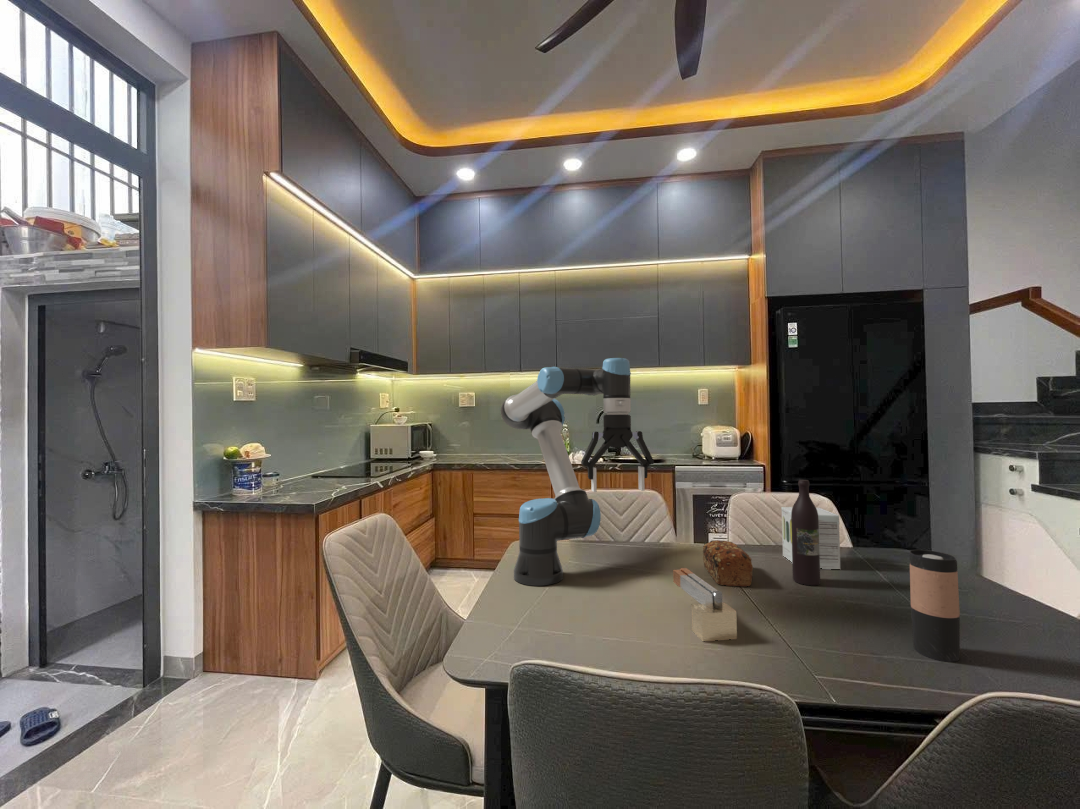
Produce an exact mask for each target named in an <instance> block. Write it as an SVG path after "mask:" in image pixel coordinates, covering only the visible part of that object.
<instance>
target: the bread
mask: <svg viewBox="0 0 1080 809" xmlns="http://www.w3.org/2000/svg"><path fill="white" fill-rule="evenodd" d="M702 560H703V566H704V568H705V569H706V571H707V570H708V571H707V573H708V572H709V573H710V574H709V573H708V574H709V575H710V577H711V576H712V577H711V578H712V580H715V581H714V582H715V583H716V584H717V585H720V586H724V585H726V586H728V587H745V588H746V587H747V586H748V587H750V586H751V584H752V579H753V568H754V567H753V564H752V558H751V557H750V555H749V554H748V553H747V552H745V550H743V549H742V548H741V547H739V545H737V544H736V543H734V542H733V541H727V540H719V539H717V540H710V541H709V542H707V543H705V544H704V545H703V546H702Z"/></svg>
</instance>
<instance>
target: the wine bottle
mask: <svg viewBox="0 0 1080 809" xmlns="http://www.w3.org/2000/svg"><path fill="white" fill-rule="evenodd" d="M797 483H798V485H797V486H798V490H799V491H798V495H797V496H798V497H797V498H796V500H795V502H794V503H793V506H792V507H793V508H792V512H791V528H792V563H791V564H792V580H793V581H794V582H795V583H798V584H799V583H800V585H803V584H804V586H809V585H811V587H812V586H819V585H820V584H821V569H820V551H819V519H818V512H817V509H816V508H817V507H816V505H815V503H814V502H813V500H812V499H811V497H810V491H809V490H810V481H809V480H808V479H799V480H798V481H797Z"/></svg>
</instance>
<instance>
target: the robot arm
mask: <svg viewBox="0 0 1080 809" xmlns="http://www.w3.org/2000/svg"><path fill="white" fill-rule="evenodd" d="M630 363H631V362H630V360H629V359H627V358H623V357H612V358H610V357H609V358H605V359H604V360H603V362H602V368H597V369H596V368H595V369H594V368H592V369H591V368H575V367H574V368H573V367H571V368H570V367H559V366H558V367H557V366H551V367H550V366H546V367H543V368H541V369H540V371H539V373H538V375H537V379H536V381H534V382H532V384H531V385H529V386H527V387H526V388H525V389H523V390H522V391H520V392H519V393H517V394H513V395H510V396H508V397H507V398H505V400H504V401H503V402H502V404H501V406H500V415H501V418H502V420H503V422H504V423H505V424H506V425H508V426H509V427H511V428H512V429H516V430H530V433H531V435H532V437H533V438H534V439H536V440H537V441H538V445H539V448H540V451H541V454H542V456H543V457H542V458H543V461H544V464H545V467H546V470H547V473H548V476H549V479H550V483H551V486H552V488H553V489H552V490H553V493H554V496H555V497H554V498H551V497H547V498H546V497H545V498H535V499H531V500H528V501H525V502H523V503H522V504H521V506H520V507H519V514H518V515H519V516H518V527H519V528H518V530H519V533H518V538H519V539H518V540H519V541H518V543H519V544H518V546H519V548H518V549H519V550H518V552H519V553H518V556H517V559H516V561H515V562H516V563H515V566H514V569H513V580H514V581H515V582H517V583H520V584H522V585H525V586H538V587H540V586H549V585H550V586H551V585H554V584H557V583H559V582H561V581H562V580H563V578H564V569H563V566H562V564H561V559H560V558H559V554H558V541H565V540H573V539H580V538H581V539H585V538H586V537H592V536H594V535H595V534H596V533H597V532H598V531H599V528H600V525H601V520H602V518H601V516H602V515H601V508H600V505H599V503H598V502H597V501H596V500H595V499H592V498H589V496H588V494H587V491H586V489H585V490H584V489H582V488H580V485H579V484H580V483H579V482H578V479H577V476H576V473H575V471H574V467H573V464H572V461H571V458H570V456H569V454H568V450H567V447H566V445H565V444H566V443H565V442H564V440H563V436H562V433H561V431H562V429H563V426H564V424H565V419H566V418H565V413H566V412H565V408H564V407H563V405H562V403H561V402H560V401H559V400H558V399H557V398H558V397H560V396H562V395H585V396H597V395H603V396H602V398H603V401H602V402H603V403H602V404H603V405H602V406H603V407H602V409H603V413H604V415H603V431H602V432H599V431H596V430H595V431H593V432H592V434H591V439H590V442H589V444H588V446H587V448H586V451H585V452H584V455H583V457H582V459H581V461H580V464H581V465H582V466H584V467H587V478H588V480H590V481H591V482H590V483H591V484H590V485H591V487H590V488H591V492H592V493H597V483H598V482H597V467H595V465H596V464H598V462H599V460H600V459H601V458H602V456H603V455H605V453H606V452H607V451H608V450H609V449H610V448H613V449H616V448H623V449H624V448H626V449H627V450H628V451H629V452H630V453H631V454H632V456H633V457H634V458H635V459H636V461H637V462H638V463H639V464H640V465H638V467H637V473H638V474H637V475H638V480H637V482H638V483H637V484H638V490H639V491H642V492H644V491H645V484H646V483H645V479H647V478H648V467H649V466H651V465H653V464H655V461H654V458H653V456H652V454H651V452H650V450H649V448H648V446H647V444H646V442H645V441H644V437H643V432H642V431H640V430H637V431H632V418H631V417H632V416H631V415H630V414H629V413H631V407H632V406H631V405H632V404H631V374H632V373H631V366H630ZM601 438H602V439H603V440H604V442H603V443H602V444H601V446H600V447H599V449H598V450H597V451H596V452H595V454H594V455H593V452H594V450H595V448H596V446H597V444H598V442H599V440H600V439H601ZM632 438H633V439H634V440H636V442H637V445H638V447H639V449H640V451H641V452H642V455H643V456H642V455H641V453H639V451H638V450H637V449H636V448H635V446H634V445H633V443H632V442H631V439H632Z"/></svg>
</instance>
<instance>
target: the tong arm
mask: <svg viewBox="0 0 1080 809" xmlns="http://www.w3.org/2000/svg"><path fill="white" fill-rule="evenodd" d="M679 570H681V571H682V572H683V573H685V574H686V575H687V576H688V577H690V578H691V579H692V580H694V581H695V582H696V583H698V584H699V585H700V586H702V587H703V588H704V589H706V590H707V591H709V592H710V593H711V594H712V599H713V607H714V608H719V609H720V608H722V602H723V591H721V590H718V589H717V588H715V587H714V586H712V585H711V584H709V583H708V582H706V581H705V580H704V579H702V578H701V577H699V576H698V575H696V574H695V573H694V572H692V571H691V570H690V569H689V568H687V567H681V568H679Z"/></svg>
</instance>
